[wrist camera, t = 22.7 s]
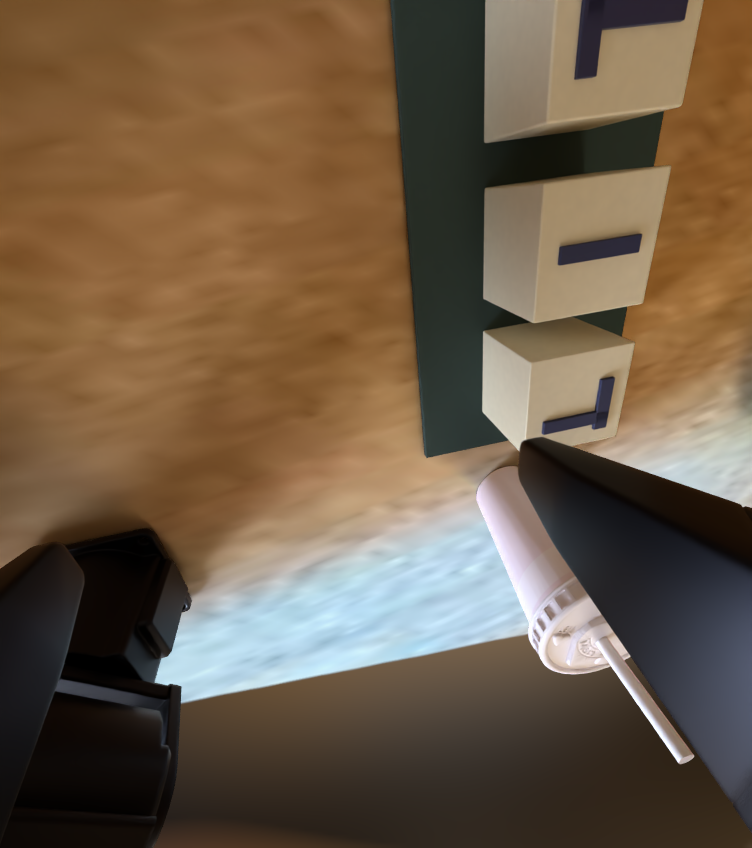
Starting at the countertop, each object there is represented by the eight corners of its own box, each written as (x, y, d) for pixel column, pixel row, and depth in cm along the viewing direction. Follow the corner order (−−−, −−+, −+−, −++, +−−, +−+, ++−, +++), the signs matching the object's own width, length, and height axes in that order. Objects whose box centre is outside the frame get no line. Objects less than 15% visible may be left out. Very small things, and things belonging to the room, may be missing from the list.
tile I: (482, 299, 19) (535, 325, 15) (483, 188, 16) (546, 183, 12) (572, 283, 19) (646, 304, 15) (584, 173, 17) (676, 164, 13)
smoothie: (435, 503, 25) (574, 788, 13) (510, 428, 23) (752, 673, 11) (499, 542, 28) (663, 805, 16) (570, 477, 26) (816, 716, 14)
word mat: (424, 454, 23) (426, 458, 22) (385, -58, 13) (388, -65, 13) (601, 416, 24) (606, 419, 24) (691, -82, 14) (702, -89, 14)
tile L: (481, 411, 22) (525, 458, 18) (482, 330, 19) (532, 363, 15) (559, 395, 22) (618, 438, 18) (568, 314, 20) (639, 343, 16)
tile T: (483, 143, 16) (549, 123, 12) (484, -19, 13) (567, -112, 9) (588, 129, 16) (687, 105, 12) (607, -30, 14) (735, -123, 10)
